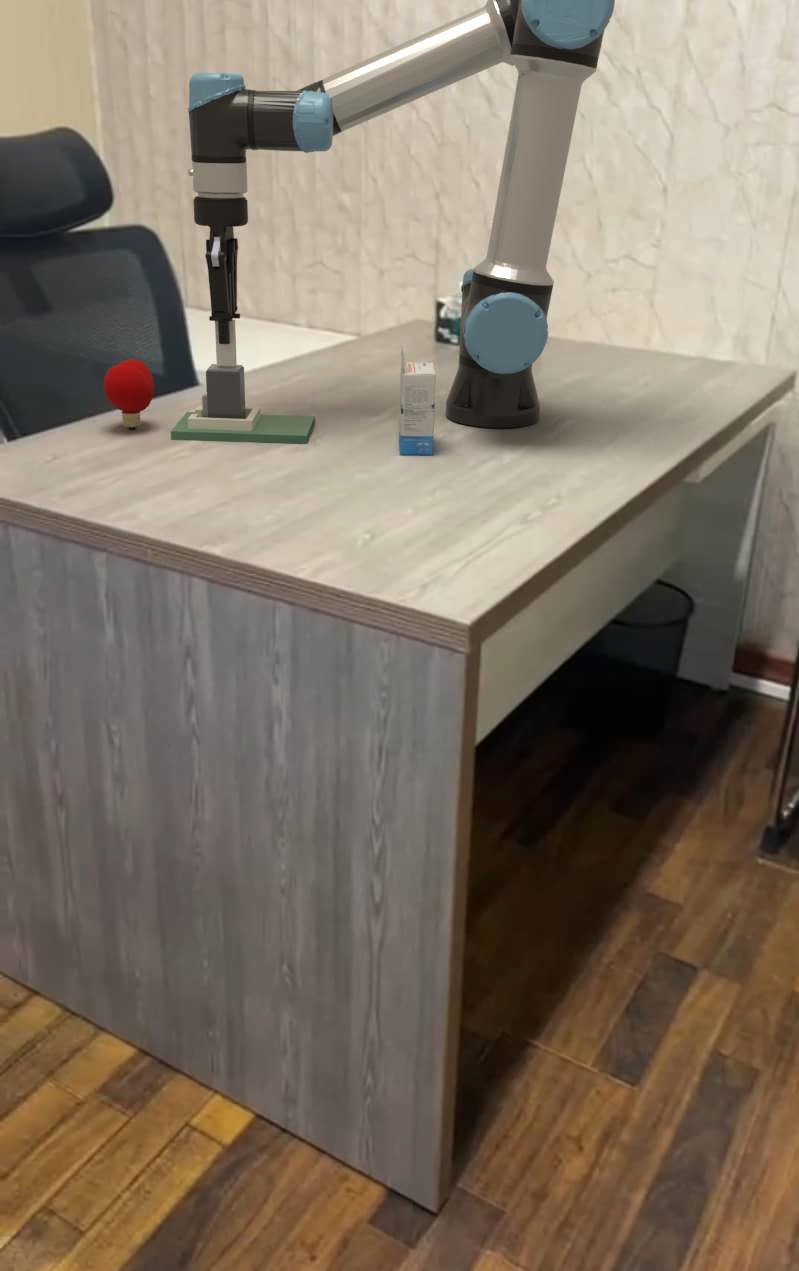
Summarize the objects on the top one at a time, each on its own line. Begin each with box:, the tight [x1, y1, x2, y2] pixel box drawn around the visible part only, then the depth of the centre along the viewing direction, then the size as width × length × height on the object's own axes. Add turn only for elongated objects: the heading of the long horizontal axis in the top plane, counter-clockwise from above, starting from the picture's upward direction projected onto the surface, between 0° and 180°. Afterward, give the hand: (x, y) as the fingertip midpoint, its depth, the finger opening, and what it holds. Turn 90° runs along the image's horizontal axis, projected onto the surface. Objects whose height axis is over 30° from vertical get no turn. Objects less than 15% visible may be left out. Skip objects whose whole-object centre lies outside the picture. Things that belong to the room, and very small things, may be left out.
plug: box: [201, 363, 246, 419], centre depth 174 cm, size 6×4×8 cm, turn 88°
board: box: [170, 404, 316, 445], centre depth 176 cm, size 20×12×3 cm, turn 88°
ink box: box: [397, 341, 437, 456], centre depth 167 cm, size 8×5×15 cm, turn 2°
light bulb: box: [103, 359, 155, 431], centre depth 174 cm, size 9×7×10 cm
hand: (226, 364), depth 172 cm, fingers closed
